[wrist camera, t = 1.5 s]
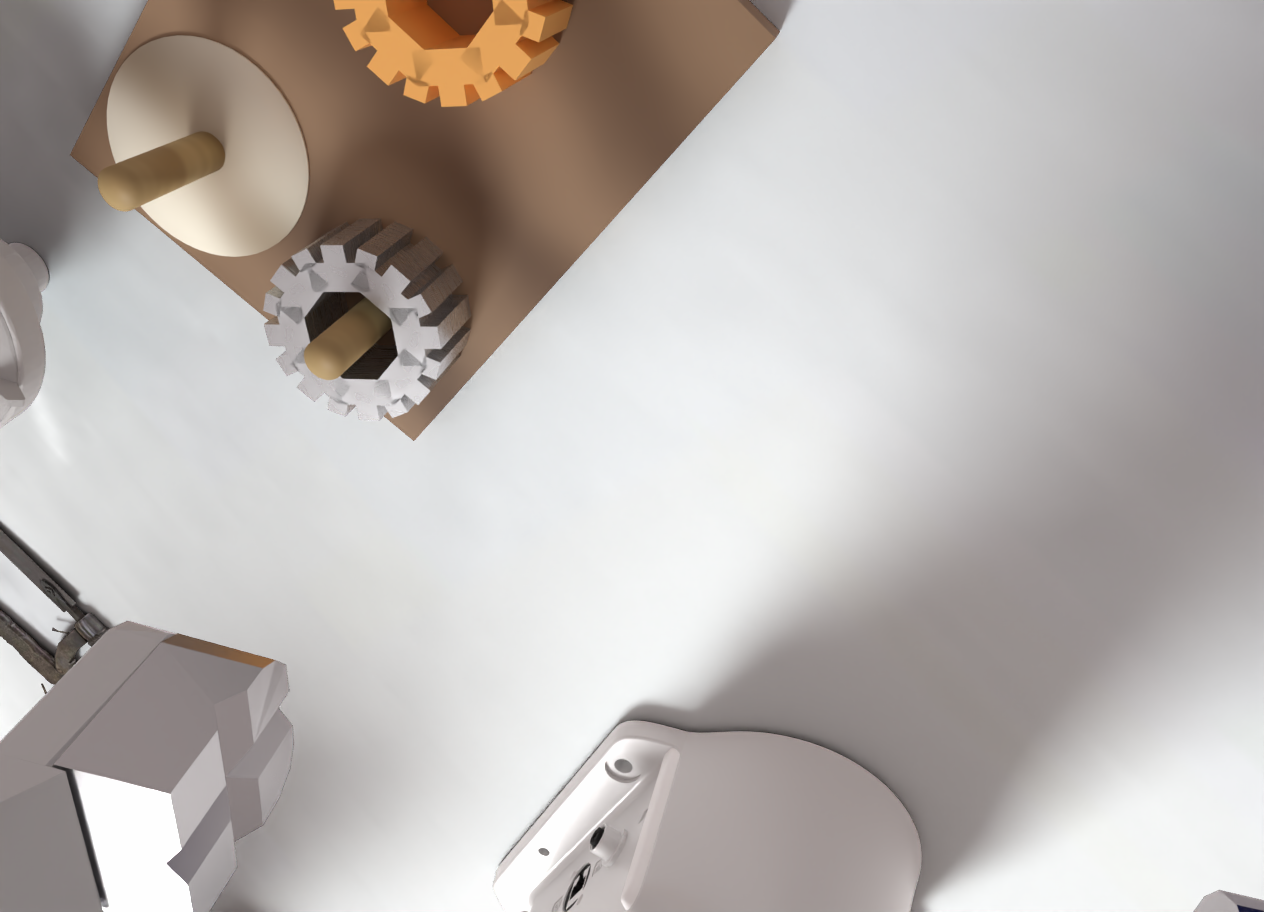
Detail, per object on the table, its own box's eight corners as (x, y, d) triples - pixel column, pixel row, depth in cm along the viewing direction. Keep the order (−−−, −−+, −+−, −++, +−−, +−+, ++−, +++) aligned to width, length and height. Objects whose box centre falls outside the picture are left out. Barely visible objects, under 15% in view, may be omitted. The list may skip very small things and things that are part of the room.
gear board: (428, 423, 42) (358, 508, 36) (96, 145, 39) (-35, 191, 33) (780, 31, 32) (757, 66, 26) (371, -384, 29) (249, -442, 23)
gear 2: (408, 415, 40) (376, 452, 37) (275, 303, 39) (232, 334, 36) (504, 305, 37) (476, 338, 34) (363, 180, 36) (322, 204, 33)
